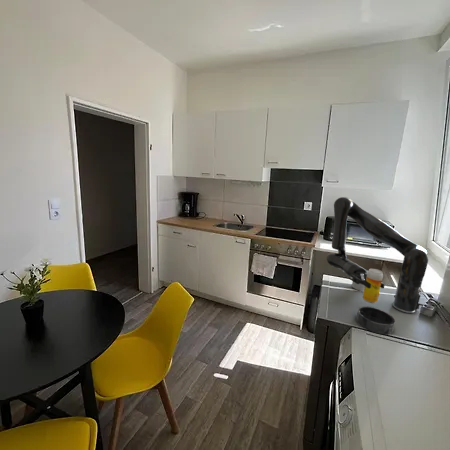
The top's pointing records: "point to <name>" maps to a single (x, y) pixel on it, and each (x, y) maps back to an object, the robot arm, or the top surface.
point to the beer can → (373, 285)
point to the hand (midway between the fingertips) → (376, 286)
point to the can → (358, 285)
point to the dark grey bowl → (375, 320)
